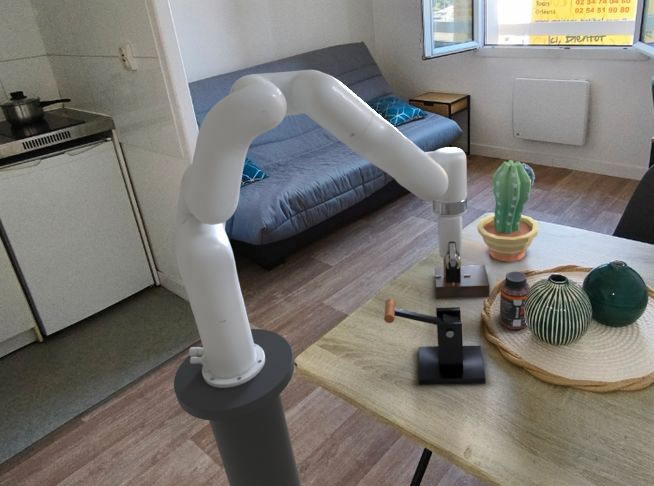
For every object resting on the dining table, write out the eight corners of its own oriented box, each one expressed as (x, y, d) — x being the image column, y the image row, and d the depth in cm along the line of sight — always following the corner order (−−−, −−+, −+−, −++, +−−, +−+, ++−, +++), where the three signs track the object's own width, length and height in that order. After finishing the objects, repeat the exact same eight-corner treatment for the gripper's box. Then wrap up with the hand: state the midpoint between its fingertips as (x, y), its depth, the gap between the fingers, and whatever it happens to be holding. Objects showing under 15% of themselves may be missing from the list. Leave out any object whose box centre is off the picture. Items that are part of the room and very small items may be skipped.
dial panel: (436, 298, 116) (435, 286, 114) (434, 277, 124) (434, 266, 123) (489, 296, 114) (489, 284, 113) (484, 275, 123) (484, 264, 121)
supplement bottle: (524, 334, 102) (526, 287, 97) (496, 326, 105) (496, 280, 100) (532, 317, 106) (534, 271, 102) (504, 310, 109) (505, 266, 104)
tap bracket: (418, 384, 92) (415, 332, 87) (419, 351, 100) (415, 302, 95) (485, 383, 90) (485, 330, 86) (480, 350, 99) (479, 300, 94)
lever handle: (382, 323, 89) (385, 312, 88) (384, 306, 94) (387, 296, 93) (455, 339, 89) (459, 329, 88) (453, 322, 94) (457, 311, 93)
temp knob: (462, 279, 116) (461, 260, 114) (444, 281, 116) (444, 261, 114) (459, 270, 120) (459, 251, 118) (443, 271, 120) (442, 252, 118)
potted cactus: (544, 266, 124) (550, 171, 113) (481, 269, 125) (480, 175, 115) (530, 237, 138) (534, 150, 127) (473, 240, 139) (472, 154, 129)
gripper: (432, 190, 119) (435, 253, 126) (433, 222, 103) (436, 292, 110) (464, 188, 118) (465, 251, 125) (470, 220, 102) (471, 291, 109)
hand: (452, 270), depth 118 cm, fingers open, 9 cm apart
